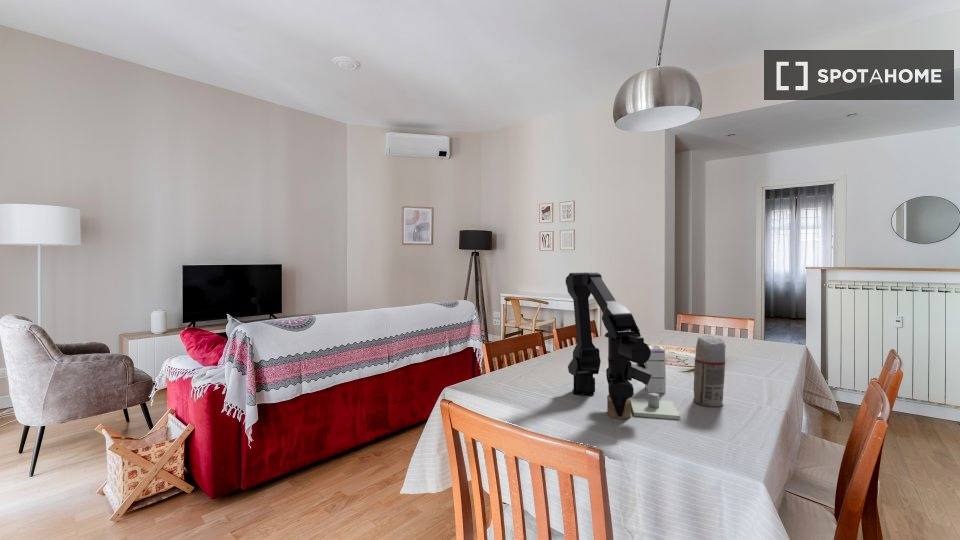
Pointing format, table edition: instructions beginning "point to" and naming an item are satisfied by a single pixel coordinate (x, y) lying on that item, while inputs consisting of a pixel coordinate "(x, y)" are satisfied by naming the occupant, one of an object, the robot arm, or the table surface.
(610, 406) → the cap
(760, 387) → the table surface
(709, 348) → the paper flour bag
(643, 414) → the pale green flat slab
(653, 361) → the syrup box
